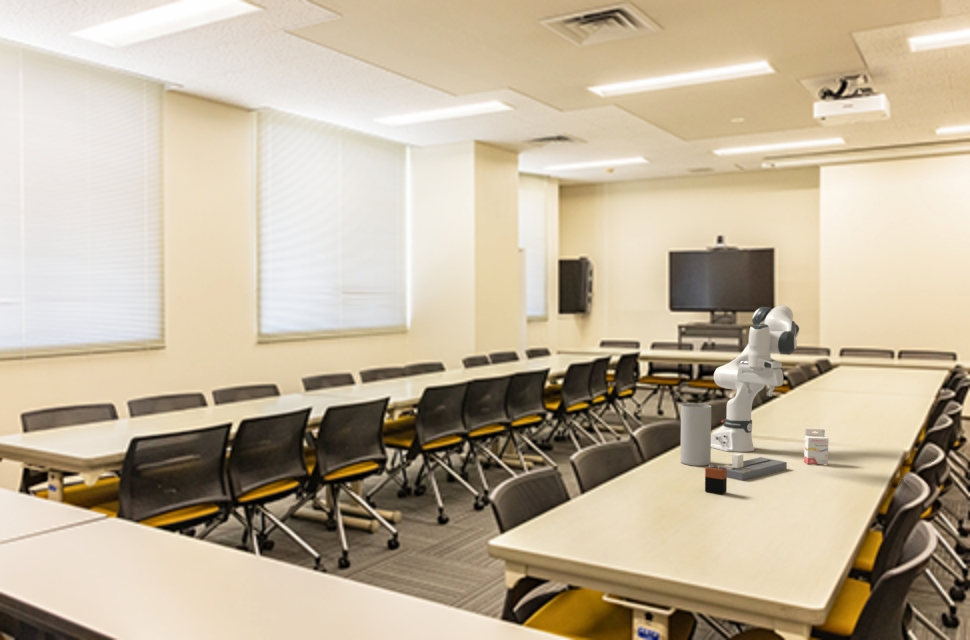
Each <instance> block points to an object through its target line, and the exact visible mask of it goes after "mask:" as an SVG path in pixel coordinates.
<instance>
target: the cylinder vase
mask: <svg viewBox="0 0 970 640" xmlns="http://www.w3.org/2000/svg"><path fill="white" fill-rule="evenodd" d="M680 405H681V406H680V463H682V464H684V465H687V466H691V467H692V466H693V467H694V466H695V467H704V466H705V467H707V466H709V465H711V463H712V462H711V461H712V460H711V458H712V457H711V455H712V453H711V450H712V447H711V435H712V405H710V404H706V403H689V402H688V403H682V404H680Z"/></svg>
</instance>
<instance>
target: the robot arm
mask: <svg viewBox="0 0 970 640" xmlns="http://www.w3.org/2000/svg"><path fill="white" fill-rule="evenodd" d="M793 313H794V312H793V311H792V309H791V308H790V307H789V306H787V305H784V304H783V305H782V304H781V305H778V306H777V305H776V306H775V307H774V308H771V307H766V306H760V307H759V308H758V309H756V310H755V311H754V313H753V315H752V320H751V321H752V322H751V323H752V325H751V326H750V328H749V332H748V343H747V344H746V346H745V347H744V349H743V351H741V353H740V354H739V355H738V356H736V358H734V359H733V360H731V361H730V362H728V363H726V364H724V365H721V366H718V367H717V368H716V369H715V371H714V373H713V380H714V384H715V385H717V386H718V387H721V388H724V389H726V390H727V389H729V390H735V391H736V394H735V396H734V397H733V398H730V399H729V400H728V401H727V402H726V418H724V419H721V423H723V425H722V426H721V427H718V428H717V429H716V430H715V431H714V432H711V449H715V450H720V451H724V452H736V453H737V452H739V453H741V452H742V453H745V452H753V451H755V447H754V446H755V445H754V444H753V443H754V442H753V435H752V431H753V420H752V406H753V403H754V399H755V397H756V395H757V394H758V393H759V392H761V391H762V390H763V389H764V388H765V386H768V388H769V390H768V391H766V396H767V397H773V392H774V390H775V389H776V387H781V386H782V385H783V384H784V371H783V370H782V368H783V367H782V365H783V364H782V362H781V361H778V360H777V359H773V358H772V357H771V354H780V355H781V354H782V355H788V356H789V355H791V354H793V353H794V352H795V351H796V349H797V345H798V343H797V342H798V339H797V338H798V335H799V332H800V327H799V325H798V324H797V323H796V321H794V320H793V318H794V314H793Z"/></svg>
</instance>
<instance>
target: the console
mask: <svg viewBox="0 0 970 640" xmlns="http://www.w3.org/2000/svg"><path fill="white" fill-rule="evenodd" d="M722 466H723V468H726V469H727V479H733V480H738V481H741V482H742V481H746V480H750V479H754V478H758V476H759V477H762V476H766V475H770V474H774V473H778V472H781V470H782V471H785V470H784V469H786V470H787V468H788V467H787V466H788V463H787V462H786V461H782V460H777V459H773V458H768V457H767V458H766V457H763V456H760V457H756V458H755V457H754V458H751V459H747V460H743V467H740V468H739V469H735V468H734V467H732V463H729V464H724V465H722ZM777 471H778V472H777ZM773 472H774V473H773ZM769 473H770V474H769Z"/></svg>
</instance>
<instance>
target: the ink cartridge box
mask: <svg viewBox="0 0 970 640" xmlns="http://www.w3.org/2000/svg"><path fill="white" fill-rule="evenodd" d="M804 432H805V434H804V448H803V449H804V453H803V455H804V457H803V462H804V463H805V462H806V463H807V464H806V463H805V464H806V465H810V464H828V465H829V441H830V440H829V437H827V436H825V434H826V433H825V432H826V431H825V429H822V428H806V429H805V431H804Z"/></svg>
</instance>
